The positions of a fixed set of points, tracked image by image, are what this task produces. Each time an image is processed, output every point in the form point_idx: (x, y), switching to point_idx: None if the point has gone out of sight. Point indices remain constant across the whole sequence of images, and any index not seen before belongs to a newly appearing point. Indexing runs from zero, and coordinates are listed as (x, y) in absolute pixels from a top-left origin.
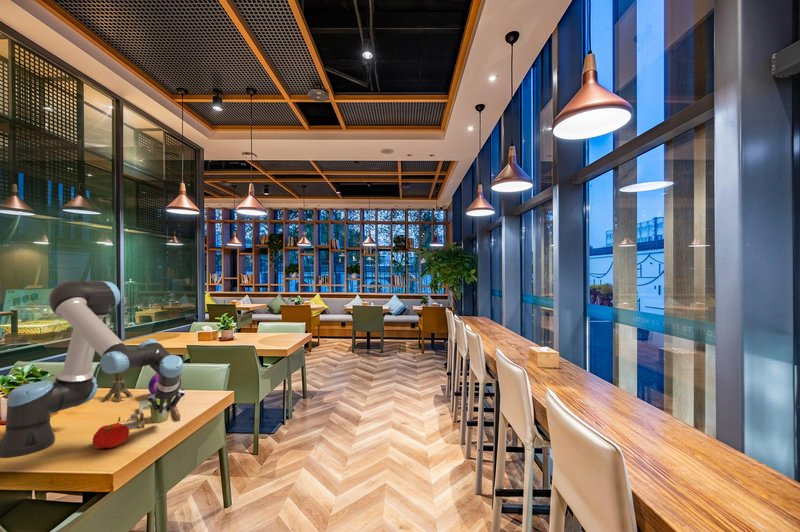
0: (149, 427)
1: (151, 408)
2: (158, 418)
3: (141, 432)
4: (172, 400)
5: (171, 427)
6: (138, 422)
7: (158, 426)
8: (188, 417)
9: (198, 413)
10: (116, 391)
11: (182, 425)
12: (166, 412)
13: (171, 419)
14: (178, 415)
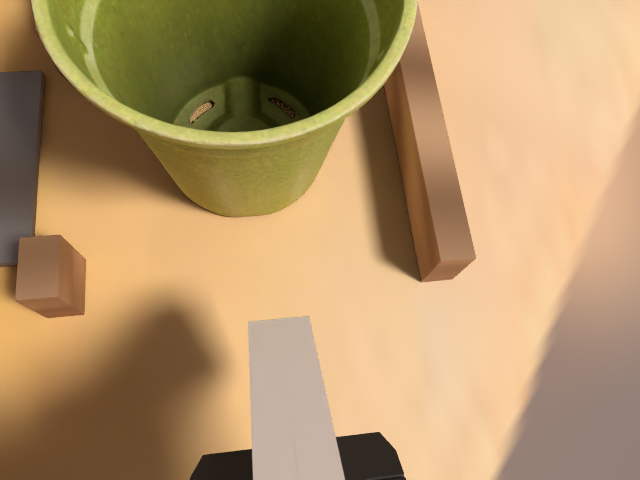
0: (138, 325)
1: (104, 90)
2: (225, 202)
3: (42, 473)
4: (413, 17)
5: None
6: (37, 110)
7: (233, 345)
8: (526, 205)
9: (608, 131)
10: None
11: (498, 468)
12: (315, 160)
13: (358, 175)
14: (454, 252)
